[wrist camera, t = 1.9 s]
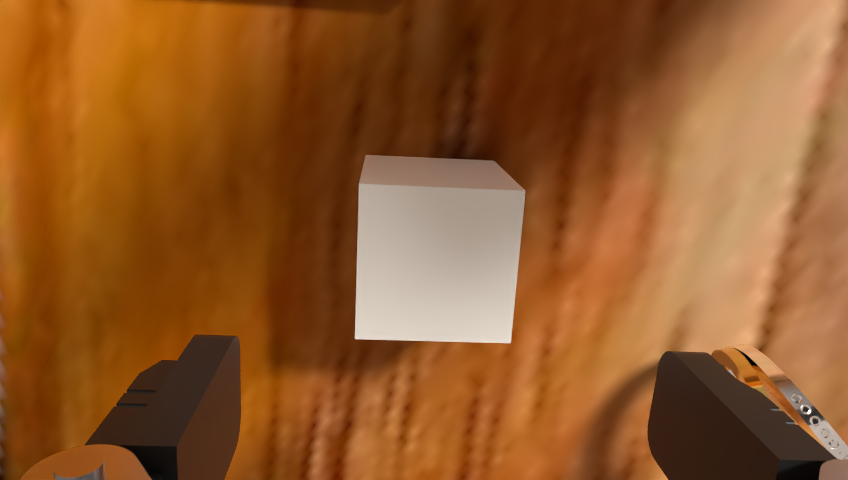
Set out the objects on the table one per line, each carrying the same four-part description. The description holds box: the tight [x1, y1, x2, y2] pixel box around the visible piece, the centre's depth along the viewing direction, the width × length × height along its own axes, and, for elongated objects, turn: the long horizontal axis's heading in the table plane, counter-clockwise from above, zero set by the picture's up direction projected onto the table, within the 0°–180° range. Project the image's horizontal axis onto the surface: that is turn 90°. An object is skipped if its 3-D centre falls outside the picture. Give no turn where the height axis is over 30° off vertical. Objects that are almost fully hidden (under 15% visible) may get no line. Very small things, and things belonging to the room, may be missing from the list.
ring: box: [711, 345, 848, 459], centre depth 24 cm, size 7×3×8 cm, turn 15°
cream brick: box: [355, 155, 525, 343], centre depth 23 cm, size 5×5×6 cm
